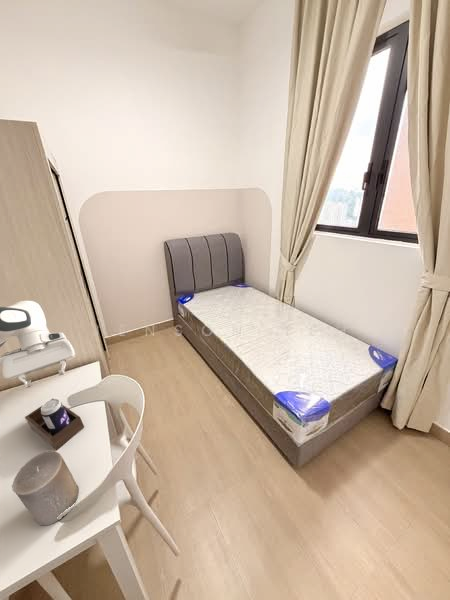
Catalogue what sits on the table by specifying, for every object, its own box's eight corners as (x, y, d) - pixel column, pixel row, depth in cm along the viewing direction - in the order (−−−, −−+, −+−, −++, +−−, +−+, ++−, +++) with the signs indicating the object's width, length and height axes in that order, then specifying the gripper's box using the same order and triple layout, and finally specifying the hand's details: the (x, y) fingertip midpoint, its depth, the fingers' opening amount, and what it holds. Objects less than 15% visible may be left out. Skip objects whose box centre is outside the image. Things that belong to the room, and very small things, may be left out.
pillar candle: (69, 474, 68) (50, 439, 61) (86, 496, 62) (67, 461, 56) (29, 509, 60) (3, 473, 54) (44, 537, 55) (17, 501, 49)
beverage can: (68, 436, 78) (56, 410, 73) (49, 440, 77) (35, 414, 72) (75, 421, 83) (63, 396, 78) (57, 425, 82) (44, 400, 77)
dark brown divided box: (30, 427, 83) (24, 417, 81) (57, 408, 90) (53, 398, 88) (56, 450, 74) (51, 439, 72) (84, 427, 82) (80, 416, 79)
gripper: (-6, 352, 76) (2, 394, 72) (67, 331, 86) (78, 366, 83) (2, 357, 81) (10, 396, 78) (70, 336, 91) (80, 369, 88)
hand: (46, 380), depth 80 cm, fingers open, 8 cm apart
